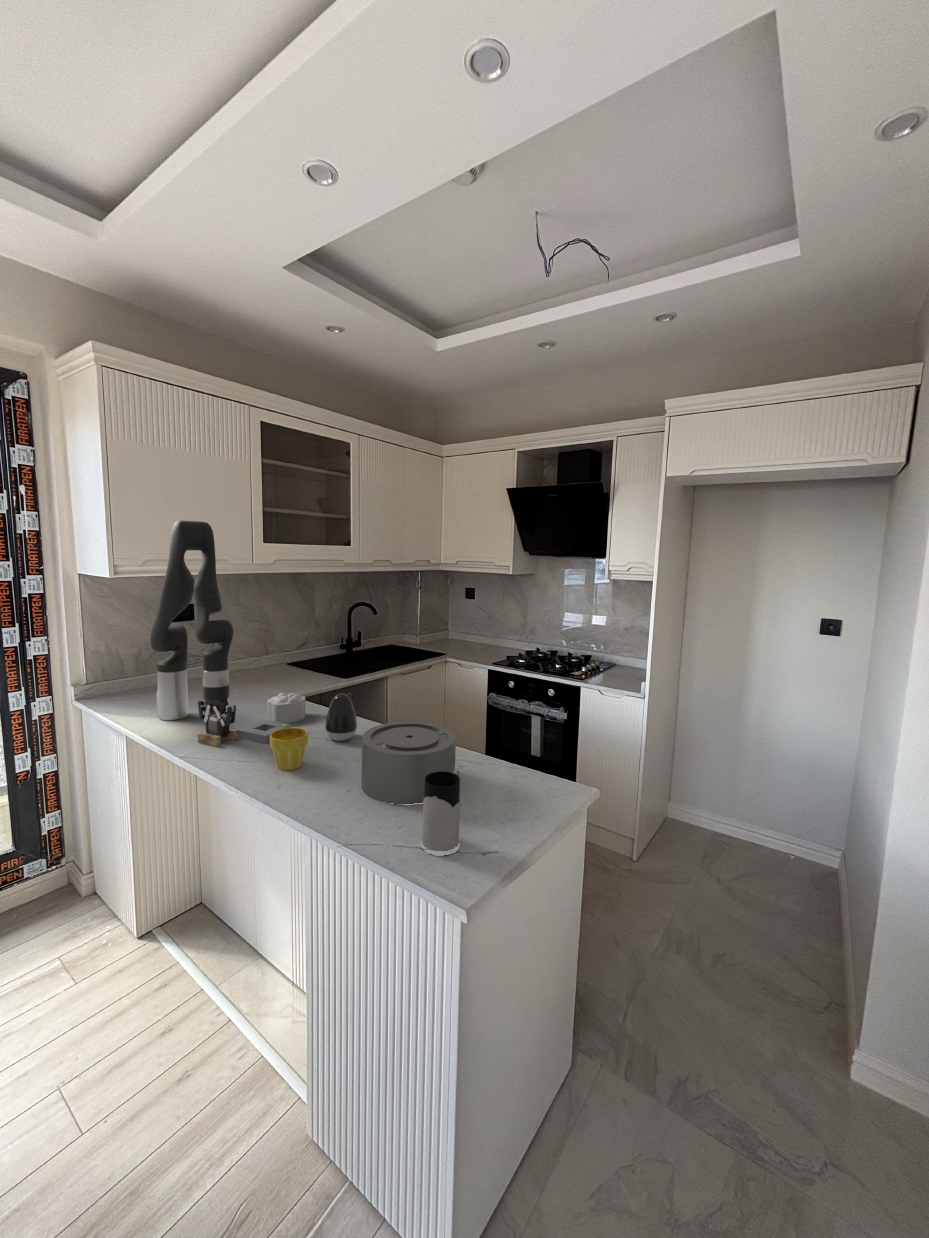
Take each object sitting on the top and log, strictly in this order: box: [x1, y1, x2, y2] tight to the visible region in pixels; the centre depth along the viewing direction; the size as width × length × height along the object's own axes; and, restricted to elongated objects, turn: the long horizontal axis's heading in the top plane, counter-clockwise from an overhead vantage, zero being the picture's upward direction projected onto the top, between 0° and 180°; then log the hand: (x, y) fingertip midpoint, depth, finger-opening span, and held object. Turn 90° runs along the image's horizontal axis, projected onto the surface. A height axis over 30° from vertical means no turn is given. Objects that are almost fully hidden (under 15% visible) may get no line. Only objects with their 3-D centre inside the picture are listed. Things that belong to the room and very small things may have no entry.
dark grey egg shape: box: [324, 692, 358, 742], centre depth 172 cm, size 10×10×15 cm
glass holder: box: [421, 769, 461, 851], centre depth 114 cm, size 9×14×15 cm, turn 159°
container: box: [360, 720, 457, 804], centre depth 141 cm, size 25×25×13 cm
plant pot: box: [269, 726, 309, 771], centre depth 150 cm, size 10×10×10 cm
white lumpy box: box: [266, 692, 307, 724], centre depth 191 cm, size 10×13×9 cm
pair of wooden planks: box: [197, 727, 238, 748], centre depth 167 cm, size 8×8×3 cm
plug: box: [208, 715, 227, 743], centre depth 167 cm, size 4×4×8 cm
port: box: [236, 719, 293, 744], centre depth 174 cm, size 12×12×3 cm
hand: (217, 734), depth 167 cm, fingers open, 6 cm apart
